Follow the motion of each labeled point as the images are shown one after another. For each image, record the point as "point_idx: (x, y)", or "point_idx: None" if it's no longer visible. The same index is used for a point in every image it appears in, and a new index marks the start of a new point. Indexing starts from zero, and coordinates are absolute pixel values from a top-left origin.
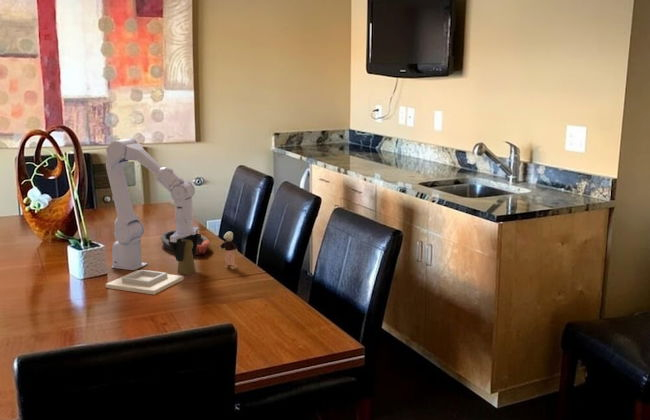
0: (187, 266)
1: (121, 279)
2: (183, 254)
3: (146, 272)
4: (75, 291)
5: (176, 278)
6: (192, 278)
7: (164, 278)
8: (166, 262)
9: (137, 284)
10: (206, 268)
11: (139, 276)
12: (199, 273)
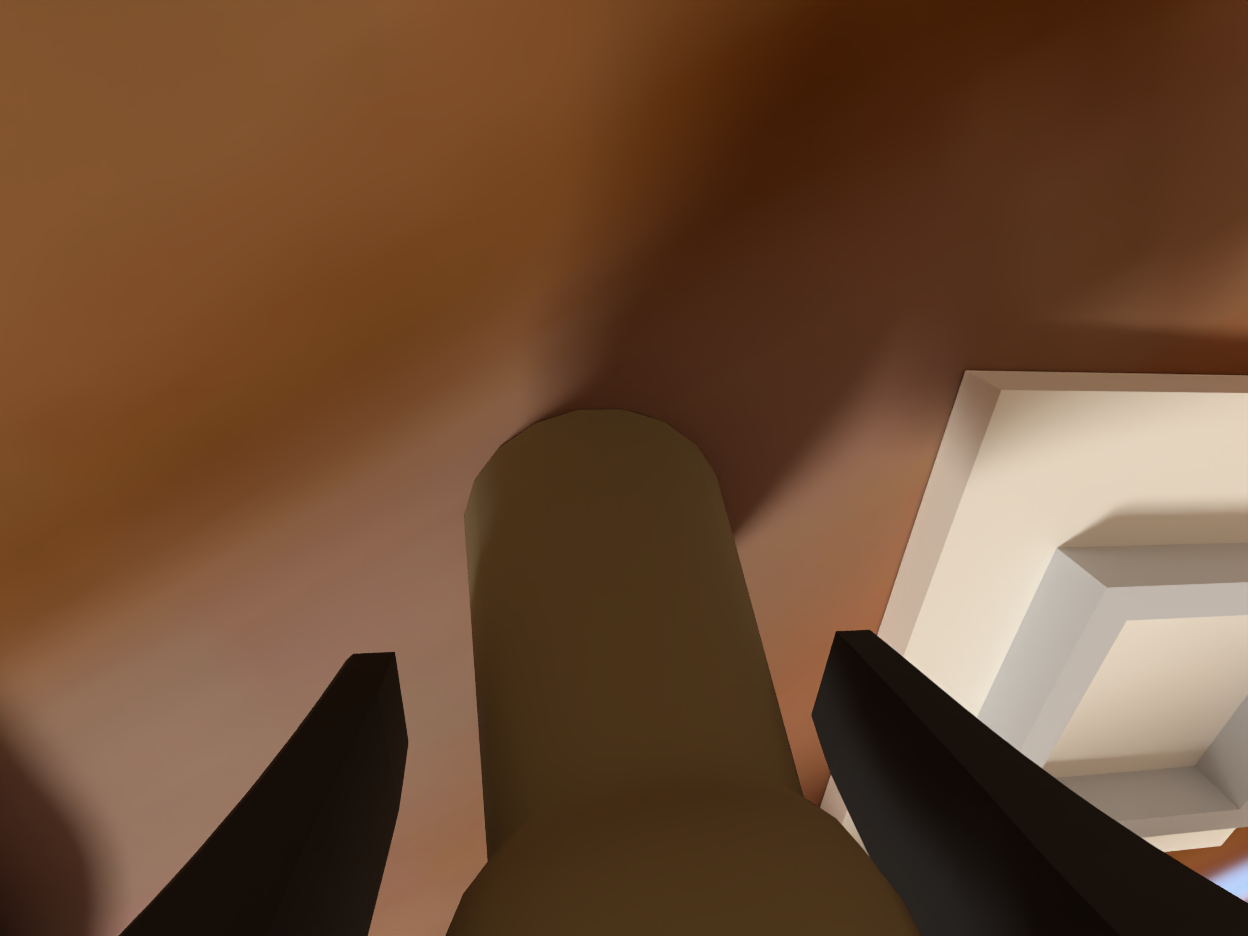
0: (718, 521)
1: None
2: (927, 729)
3: None
4: (1242, 888)
5: (1117, 417)
6: (894, 271)
7: (1119, 548)
8: None
9: None
10: (301, 341)
11: None
12: (615, 304)
